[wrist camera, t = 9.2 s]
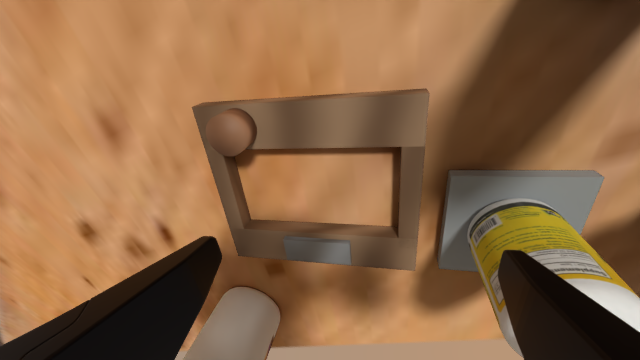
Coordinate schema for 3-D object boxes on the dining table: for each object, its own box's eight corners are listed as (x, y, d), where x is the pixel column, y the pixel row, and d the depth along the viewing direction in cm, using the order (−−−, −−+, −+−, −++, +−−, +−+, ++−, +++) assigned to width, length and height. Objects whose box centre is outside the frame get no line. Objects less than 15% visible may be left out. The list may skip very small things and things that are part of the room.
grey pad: (594, 170, 18) (604, 177, 17) (555, 269, 22) (561, 278, 22) (448, 170, 20) (451, 176, 20) (437, 260, 25) (439, 268, 24)
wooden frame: (426, 88, 18) (434, 100, 15) (413, 258, 25) (417, 289, 22) (203, 102, 22) (174, 114, 19) (245, 245, 29) (228, 270, 26)
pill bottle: (552, 261, 21) (685, 450, 12) (463, 259, 23) (516, 423, 13) (570, 192, 18) (763, 364, 9) (467, 195, 20) (538, 344, 11)
